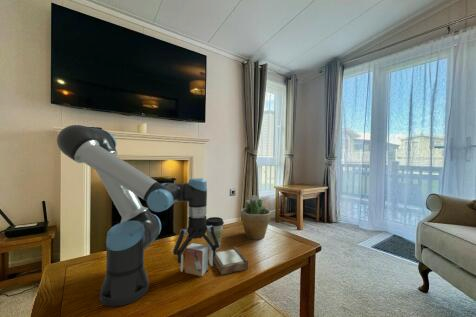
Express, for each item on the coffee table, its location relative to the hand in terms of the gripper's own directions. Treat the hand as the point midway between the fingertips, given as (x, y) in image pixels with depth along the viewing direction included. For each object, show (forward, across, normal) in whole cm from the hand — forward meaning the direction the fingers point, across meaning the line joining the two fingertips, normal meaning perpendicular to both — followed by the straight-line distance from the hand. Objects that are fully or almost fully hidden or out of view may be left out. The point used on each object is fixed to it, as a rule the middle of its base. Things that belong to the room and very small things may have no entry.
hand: (196, 267), depth 87 cm
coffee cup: (+2, +13, +19) cm, 23 cm away
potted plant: (+2, +41, +26) cm, 49 cm away
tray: (+2, +15, +1) cm, 15 cm away
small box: (+2, 0, 0) cm, 2 cm away
